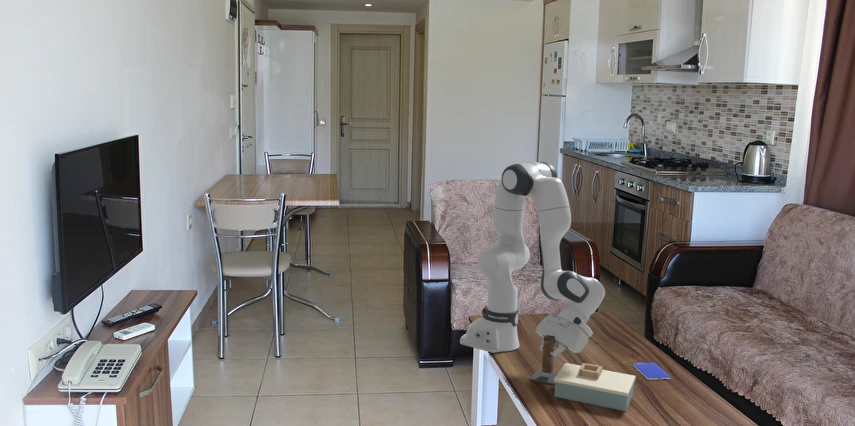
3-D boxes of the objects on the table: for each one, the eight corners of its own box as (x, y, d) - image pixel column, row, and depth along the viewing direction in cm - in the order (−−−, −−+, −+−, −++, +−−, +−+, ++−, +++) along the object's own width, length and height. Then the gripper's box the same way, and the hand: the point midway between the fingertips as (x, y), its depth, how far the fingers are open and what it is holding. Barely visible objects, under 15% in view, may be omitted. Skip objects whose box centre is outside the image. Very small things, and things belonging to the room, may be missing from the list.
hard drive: (633, 362, 244) (648, 377, 232) (655, 362, 245) (671, 376, 233) (632, 367, 244) (647, 381, 232) (654, 366, 245) (670, 380, 233)
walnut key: (542, 372, 230) (543, 337, 228) (544, 368, 233) (546, 334, 231) (550, 373, 229) (552, 339, 227) (553, 370, 232) (554, 336, 230)
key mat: (529, 380, 229) (530, 378, 229) (537, 370, 238) (537, 369, 237) (556, 385, 226) (556, 384, 226) (563, 375, 234) (563, 374, 234)
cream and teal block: (553, 396, 217) (554, 372, 216) (564, 379, 230) (565, 357, 229) (626, 411, 208) (628, 386, 207) (634, 393, 221) (636, 369, 220)
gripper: (546, 306, 240) (522, 337, 237) (587, 323, 223) (562, 357, 220) (555, 317, 243) (532, 348, 240) (596, 335, 226) (572, 368, 223)
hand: (547, 352), depth 230 cm, fingers closed on walnut key, 4 cm apart
